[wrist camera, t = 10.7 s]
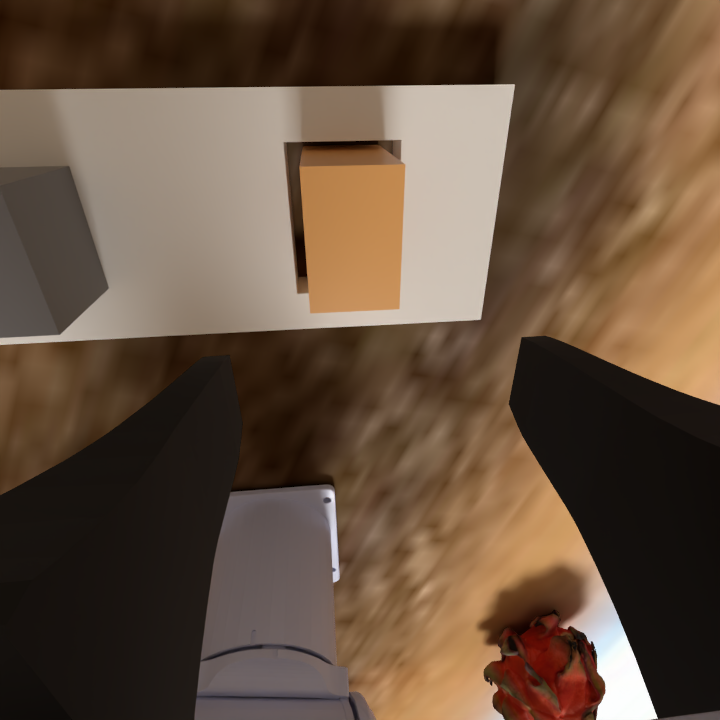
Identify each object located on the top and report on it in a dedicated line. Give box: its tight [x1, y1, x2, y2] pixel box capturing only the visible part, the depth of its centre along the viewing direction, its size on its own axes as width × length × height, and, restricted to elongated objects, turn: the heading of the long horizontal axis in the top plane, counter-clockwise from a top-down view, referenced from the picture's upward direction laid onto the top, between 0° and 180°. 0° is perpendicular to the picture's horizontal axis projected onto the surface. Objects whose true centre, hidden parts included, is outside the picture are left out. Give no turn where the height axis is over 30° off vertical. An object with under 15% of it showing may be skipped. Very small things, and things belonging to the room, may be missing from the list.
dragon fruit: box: [484, 610, 605, 720], centre depth 36 cm, size 8×8×12 cm
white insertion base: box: [0, 84, 515, 345], centre depth 16 cm, size 9×22×6 cm, turn 91°
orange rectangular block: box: [299, 145, 405, 313], centre depth 16 cm, size 4×3×6 cm, turn 0°
